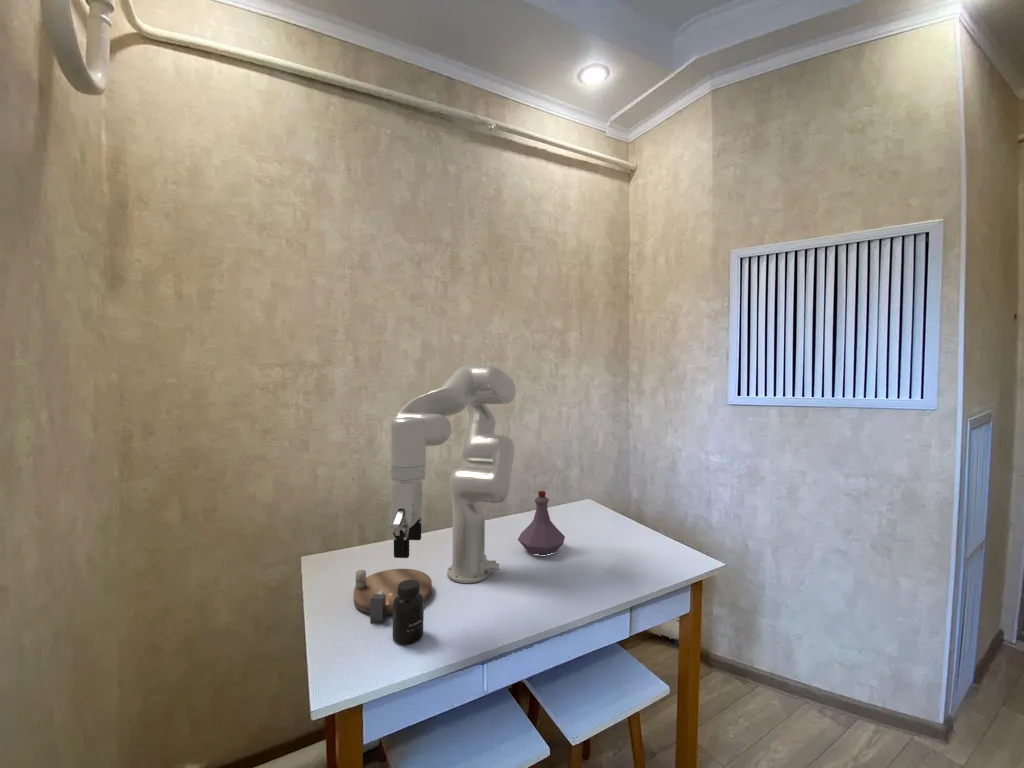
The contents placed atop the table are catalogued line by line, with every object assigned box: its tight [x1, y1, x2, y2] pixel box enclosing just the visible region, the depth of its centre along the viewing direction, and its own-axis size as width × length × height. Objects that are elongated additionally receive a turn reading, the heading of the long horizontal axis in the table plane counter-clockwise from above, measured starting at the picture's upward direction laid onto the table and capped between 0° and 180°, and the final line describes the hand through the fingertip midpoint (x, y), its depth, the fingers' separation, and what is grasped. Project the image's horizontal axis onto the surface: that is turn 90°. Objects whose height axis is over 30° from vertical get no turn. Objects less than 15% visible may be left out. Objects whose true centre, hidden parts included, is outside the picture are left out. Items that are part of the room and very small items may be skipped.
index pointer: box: [369, 591, 387, 625], centre depth 103 cm, size 3×4×6 cm
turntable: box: [353, 568, 433, 615], centre depth 114 cm, size 20×20×6 cm
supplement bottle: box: [391, 580, 425, 646], centre depth 96 cm, size 7×7×12 cm
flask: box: [517, 490, 566, 555], centre depth 144 cm, size 16×16×20 cm
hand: (408, 548), depth 96 cm, fingers open, 9 cm apart
